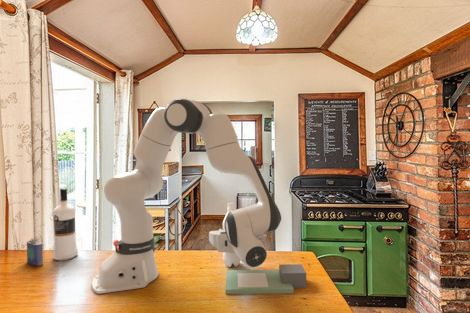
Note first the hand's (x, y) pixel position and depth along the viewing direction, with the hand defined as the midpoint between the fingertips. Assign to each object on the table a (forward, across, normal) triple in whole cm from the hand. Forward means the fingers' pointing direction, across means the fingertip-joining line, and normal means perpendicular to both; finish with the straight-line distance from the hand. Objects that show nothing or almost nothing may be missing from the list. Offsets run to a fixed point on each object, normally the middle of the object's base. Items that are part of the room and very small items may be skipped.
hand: (231, 229), depth 116 cm
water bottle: (-1, 0, +14) cm, 14 cm away
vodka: (+28, +67, +14) cm, 74 cm away
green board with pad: (-19, -7, +14) cm, 25 cm away
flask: (+24, +77, +14) cm, 82 cm away
